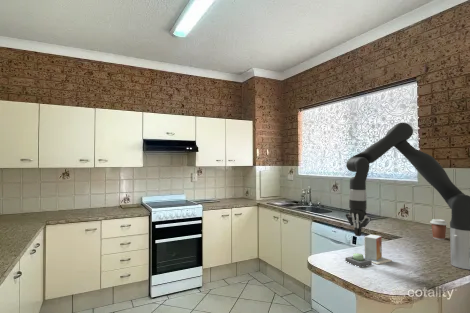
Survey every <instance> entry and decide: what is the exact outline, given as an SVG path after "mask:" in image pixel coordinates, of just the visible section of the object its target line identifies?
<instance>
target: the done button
mask: <svg viewBox="0 0 470 313" xmlns="http://www.w3.org/2000/svg"><path fill="white" fill-rule="evenodd" d="M363 255H364V254H362V253H357V252H355V253H353V254H352V256H353V259H354V260H357V261H363Z"/></svg>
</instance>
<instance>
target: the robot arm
mask: <svg viewBox="0 0 470 313" xmlns="http://www.w3.org/2000/svg"><path fill="white" fill-rule="evenodd" d="M413 133H414V129H413V127H412V126H411V125H410V124H409V123H407V122H399V123H396V124H395V125H394V126H392V127H391V128H390V129H388V131H387V132H386V134H385V135H384V137H382V138H380V139H379V140H378V141H376V142H374V143H373V144H371V145H370V146H368V147H367V148H366V149H365V150H363V151H361V152H359V153H357V154H354V155H352V156H351V157H350V158H348V160H347V161H346V165H345V167H346V169H347V170H348V171H349V172H352V173H355V176H353V177H350V179H349V193H348V200H349V201H348V206H349V212H348V213H346V214H345V217H346V218H347V219H346V220H347V221H348V222H349V225H350V226H352V227H353V228H354V229H353V230H354V232H353V233H354V236H356V237H361V236H362V234H363V233H362V232H363V231H362V229H363V228H366V226H368V224H369V223H370V222H371V221H372V218H371V217H369V216H368V215H367V212H366V211H367V188H366V187H367V186H366V185H367V183H366V182H367V179H368V174H369V171H370V164H372V163H374V162H376V161H378V160H379V159H380V158H381V157H382V156H384V155H385V154H386V153H387V152H388V151H390V150H391V149H392V148H393V147H394V148H395V149H396V150H397V151H398V152H400V153H401V155H403V157H405V159H406V160H407V161H408V162H409V163H410V164H411V165H412V166H413V167H414V168H415V170H416V171H417V172H418V173H419V174H420V175H421V176H422V177H423V179H425V181H426V182H428V184H429V185H430V186H432V187H433V188H434V189H435V190H436V191H437V192H438V193H439V195H440V196H441V197H442V199H443V200H444V201H445V203H446V204H447V206H448V207H449V209H450V210H451V219H450V222H449V240H450V242H449V244H450V246H449V248H450V265H452V266H453V267H455V268H459V269H463V270H469V271H470V195H468V194H466V193H464V192H463V191H461V190H460V189H459V188H458V187H457V186H456V185H455V184H454V183H453V182H452V180H451V179H450V176H449V175H448V173H447V172H446V171H445V168H443V166H442V165H441V164H440V163H439V162H438V161H437V160H436V159H435V157H433V156H432V155H430V154H429V153H427V152H424V151H421V150H419V149H418V148H415V147H413V145H412V144H410V142H409V141H408V140H409V139H410V138H411V137H412V136H413Z"/></svg>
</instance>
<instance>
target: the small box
mask: <svg viewBox="0 0 470 313" xmlns="http://www.w3.org/2000/svg"><path fill="white" fill-rule="evenodd" d="M382 240H383V238H382V236H381V235H378V234H377V235H375V234H372V233H370V234H368V235H365V236H364V255H365V258H367V259H372V260H376V261H377V260H378V259H380V258H381V257H383V256H382V254H383V253H382V252H383V250H382V244H383V243H382V242H383V241H382Z"/></svg>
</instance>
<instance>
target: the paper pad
mask: <svg viewBox="0 0 470 313" xmlns="http://www.w3.org/2000/svg"><path fill="white" fill-rule="evenodd" d="M363 258H365V256H363ZM366 259H367V258H366ZM369 260H372V259H369ZM392 261H393V260H392V259H391V258H390V259H389V258H387V257H383V256H382V257H381V258H380V259H378V260H377V261H376V260H372V264H374V265H377V266H378V265H382V264H385V263H386V264H387V263H389V262H392Z"/></svg>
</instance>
